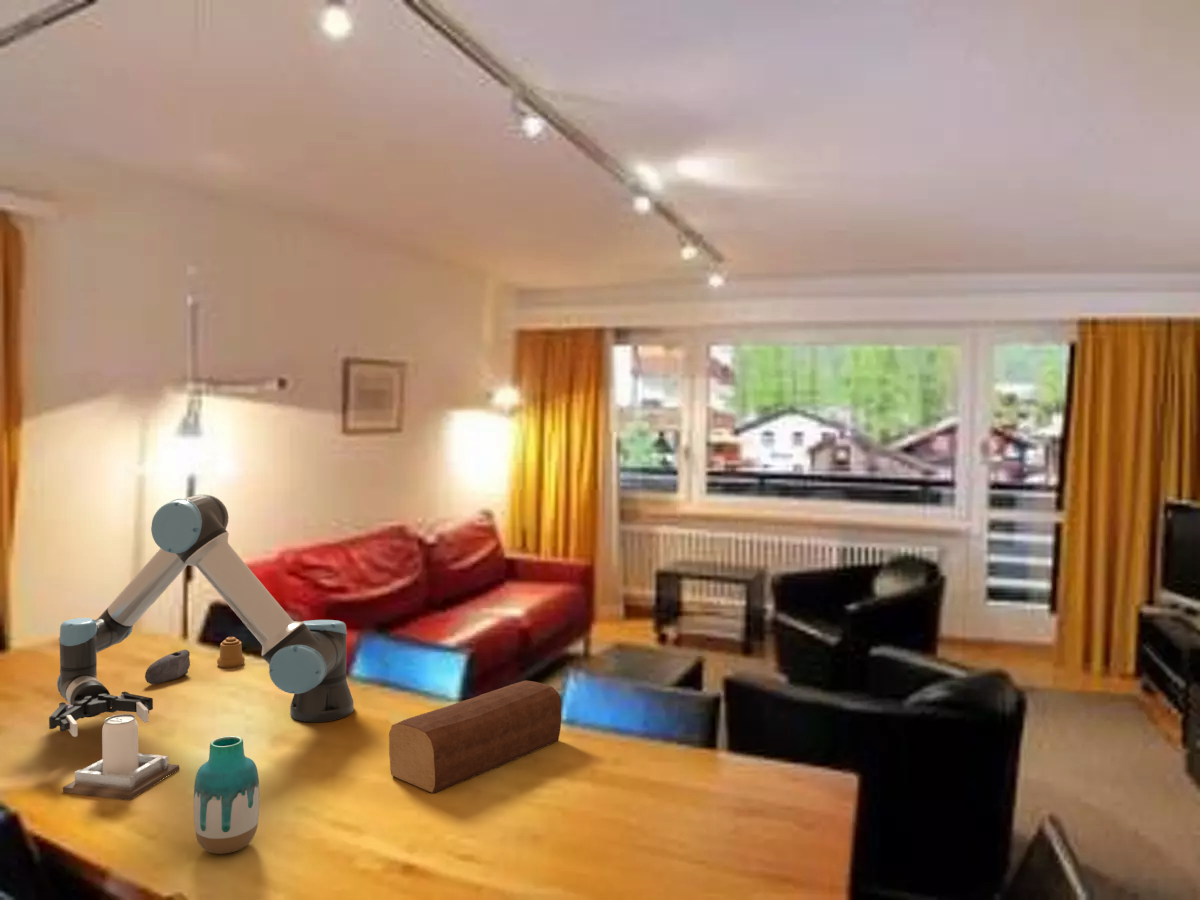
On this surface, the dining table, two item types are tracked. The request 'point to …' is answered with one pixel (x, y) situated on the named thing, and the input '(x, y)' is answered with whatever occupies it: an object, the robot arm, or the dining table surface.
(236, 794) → the vase
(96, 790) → the collar base
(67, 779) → the dining table surface
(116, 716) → the can
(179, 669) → the perforated stone tool
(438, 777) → the bread
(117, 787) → the grey hollow square frame
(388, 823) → the dining table surface
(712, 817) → the dining table surface
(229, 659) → the ornamental finial
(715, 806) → the dining table surface
